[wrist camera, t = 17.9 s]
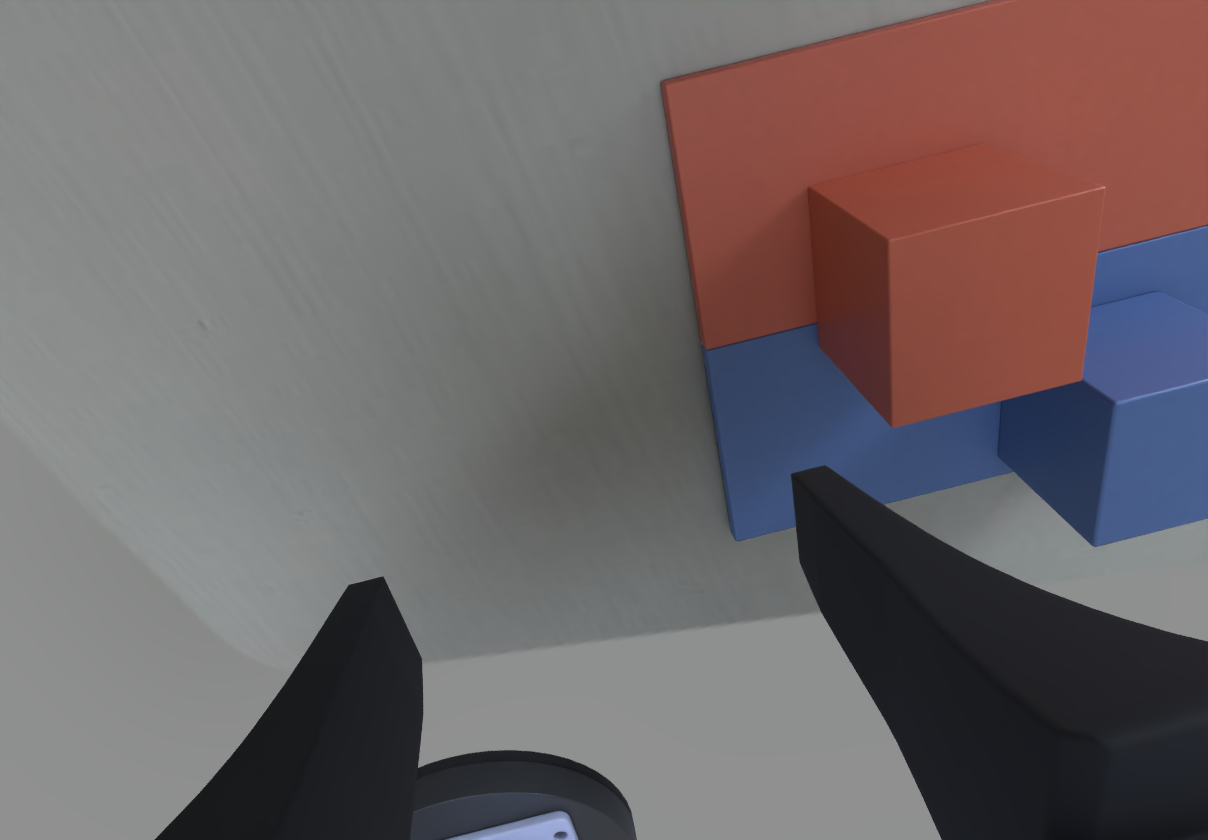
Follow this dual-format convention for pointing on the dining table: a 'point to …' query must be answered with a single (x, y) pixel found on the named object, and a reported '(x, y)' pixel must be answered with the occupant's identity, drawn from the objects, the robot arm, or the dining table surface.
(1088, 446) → the blue block
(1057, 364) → the red block
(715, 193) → the board
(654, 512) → the dining table surface
